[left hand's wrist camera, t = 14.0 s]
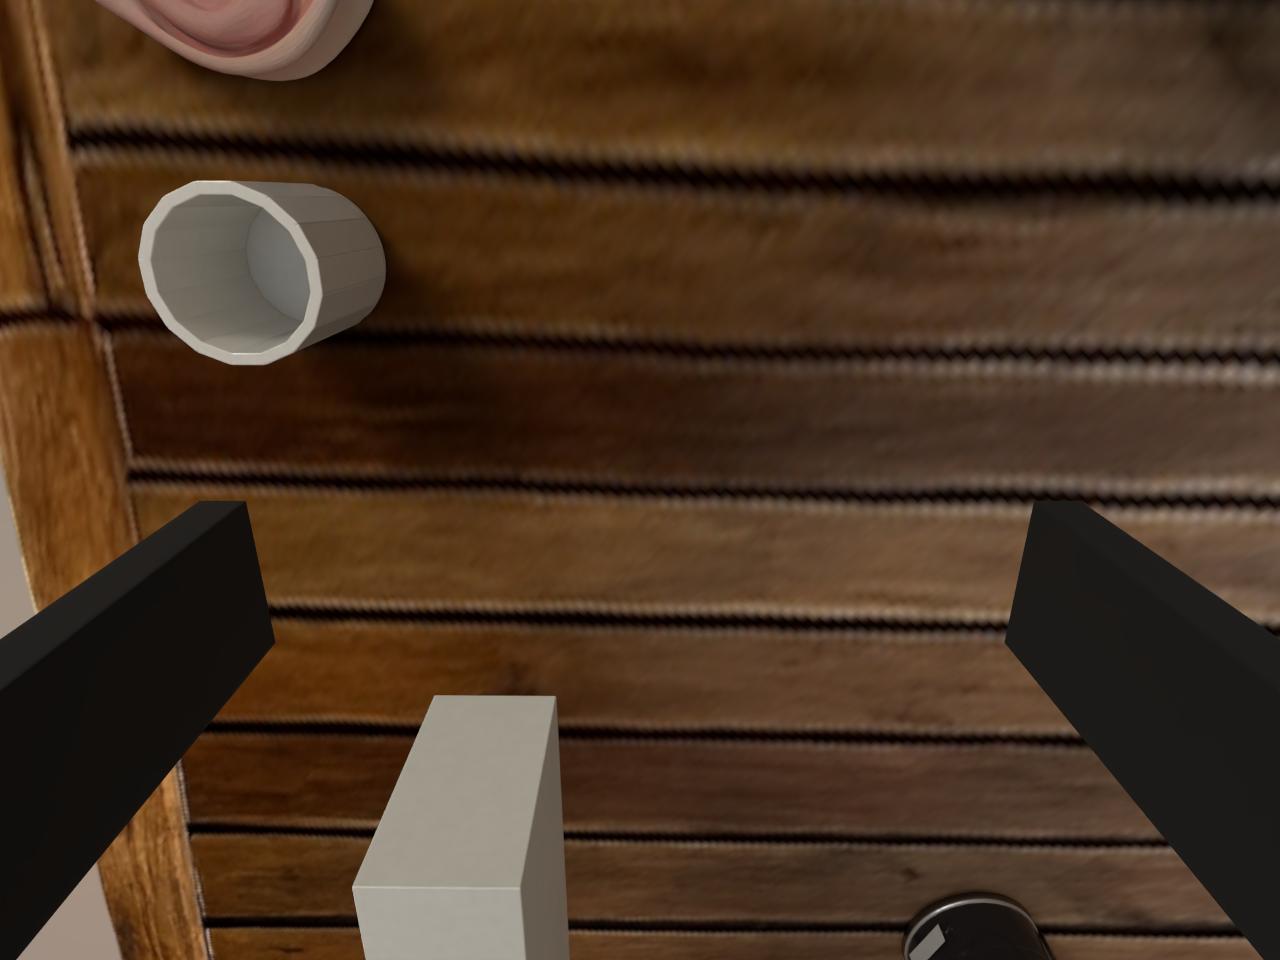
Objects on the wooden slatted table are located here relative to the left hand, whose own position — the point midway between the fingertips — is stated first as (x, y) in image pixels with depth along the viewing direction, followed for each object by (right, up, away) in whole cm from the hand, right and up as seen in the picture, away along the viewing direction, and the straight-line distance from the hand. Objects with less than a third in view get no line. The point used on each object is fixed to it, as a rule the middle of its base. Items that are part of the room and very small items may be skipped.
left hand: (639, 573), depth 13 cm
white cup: (-16, +12, +24) cm, 31 cm away
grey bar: (-6, -18, +22) cm, 29 cm away
